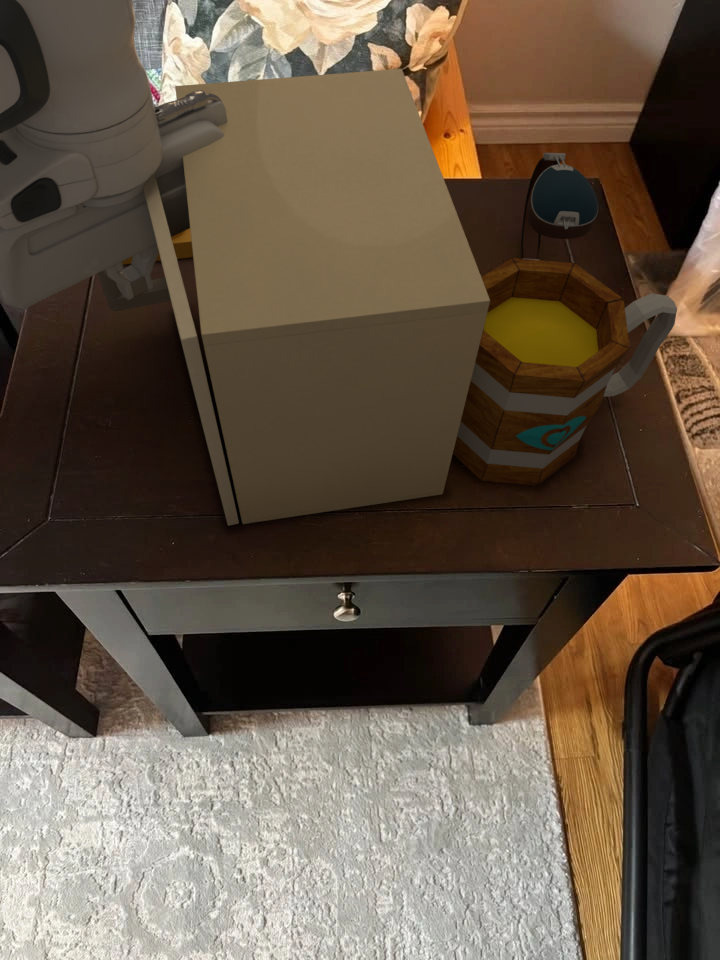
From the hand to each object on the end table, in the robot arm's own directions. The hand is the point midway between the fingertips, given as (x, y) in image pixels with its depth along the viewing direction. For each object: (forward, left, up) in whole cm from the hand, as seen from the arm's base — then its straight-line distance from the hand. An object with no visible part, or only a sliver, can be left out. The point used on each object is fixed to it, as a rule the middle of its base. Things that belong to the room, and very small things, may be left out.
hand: (136, 290), depth 62 cm
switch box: (+1, +22, -13) cm, 25 cm away
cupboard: (+15, -3, -13) cm, 20 cm away
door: (+1, -3, -13) cm, 13 cm away
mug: (+35, -9, -13) cm, 38 cm away
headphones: (+39, +5, -13) cm, 41 cm away
